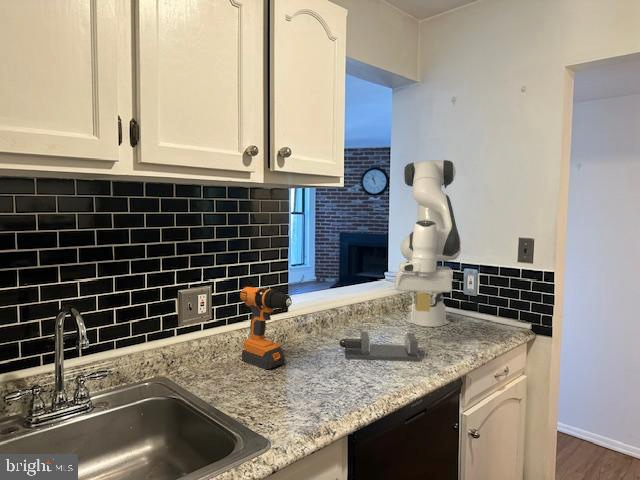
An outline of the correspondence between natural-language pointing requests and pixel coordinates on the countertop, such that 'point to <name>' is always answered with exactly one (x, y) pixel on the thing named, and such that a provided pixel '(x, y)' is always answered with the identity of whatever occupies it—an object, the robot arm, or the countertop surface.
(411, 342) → the vise
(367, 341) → the jaw
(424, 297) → the block
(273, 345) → the power drill
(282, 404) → the countertop surface
